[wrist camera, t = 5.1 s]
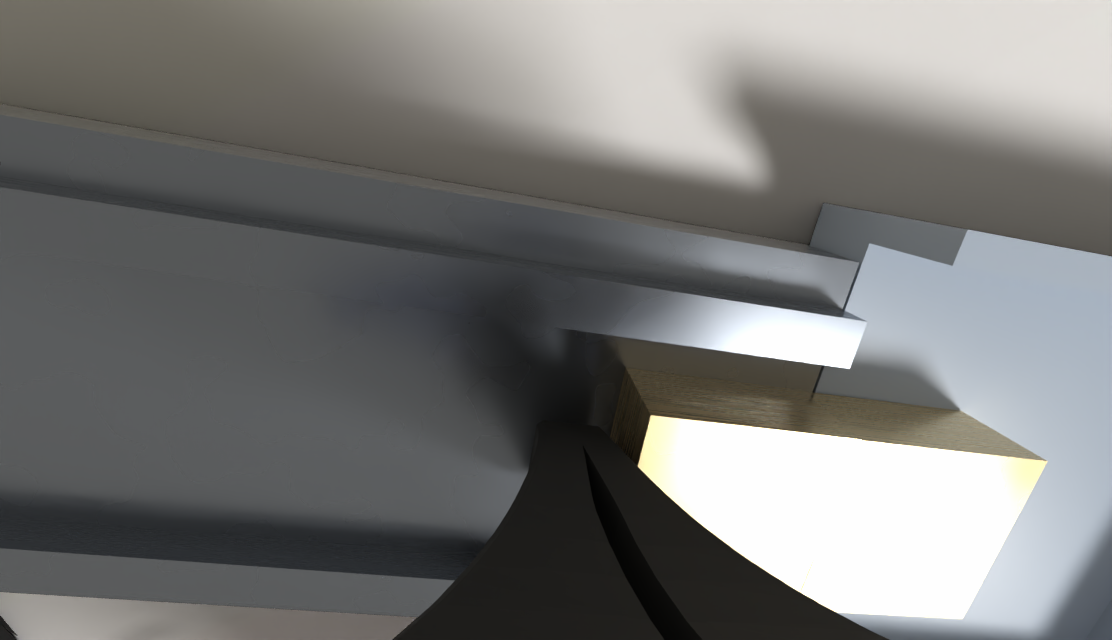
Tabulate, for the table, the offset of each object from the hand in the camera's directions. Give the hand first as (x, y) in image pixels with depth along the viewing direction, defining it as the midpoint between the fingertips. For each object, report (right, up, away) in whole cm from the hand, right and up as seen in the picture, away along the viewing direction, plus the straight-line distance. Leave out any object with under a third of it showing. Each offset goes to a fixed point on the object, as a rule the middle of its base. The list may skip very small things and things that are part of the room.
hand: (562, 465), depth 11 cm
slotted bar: (-4, +1, +2) cm, 5 cm away
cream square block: (+3, 0, +1) cm, 3 cm away
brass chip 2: (+7, -1, +1) cm, 7 cm away
